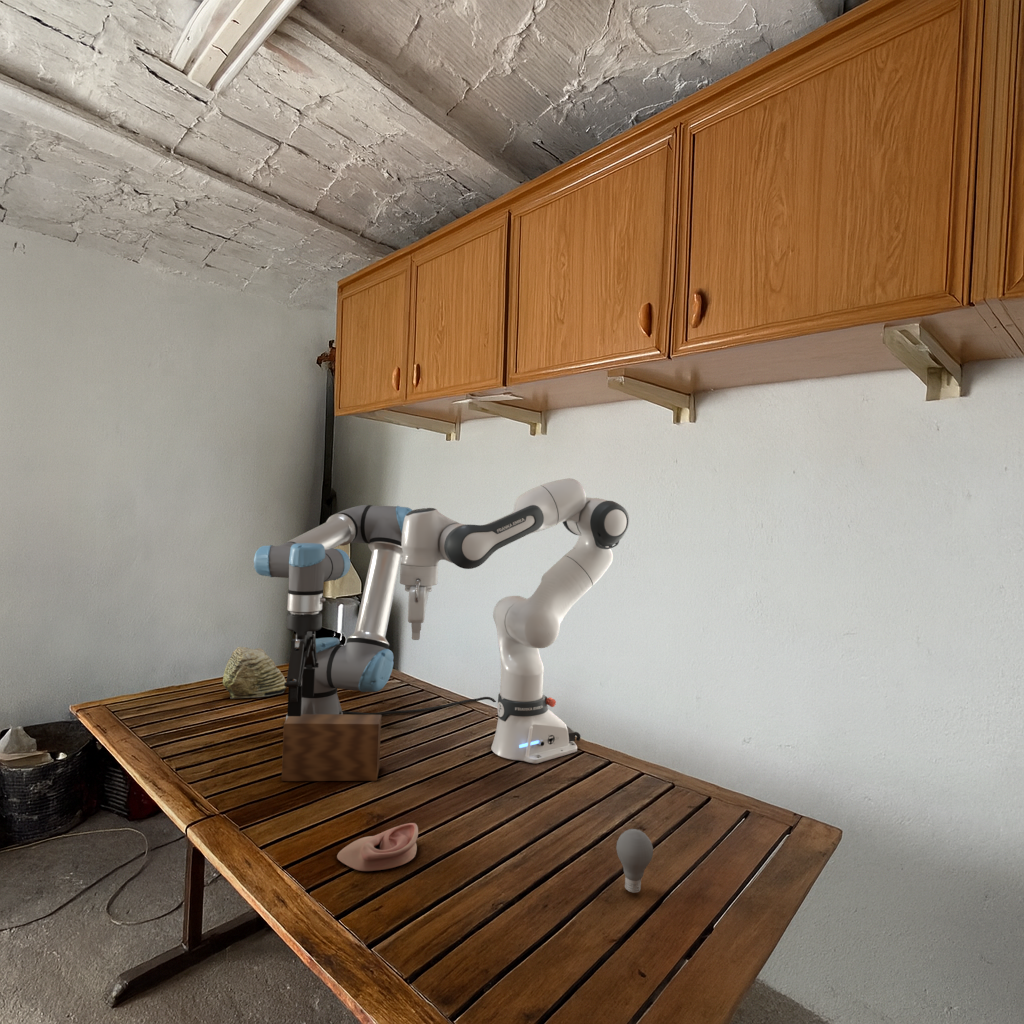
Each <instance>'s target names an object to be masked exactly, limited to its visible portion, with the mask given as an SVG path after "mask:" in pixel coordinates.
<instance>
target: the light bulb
mask: <svg viewBox="0 0 1024 1024" xmlns="http://www.w3.org/2000/svg"><path fill="white" fill-rule="evenodd" d="M615 849H616V854H617V857H618V859H619V861H620V863H621V865H622V867H623V873H624V874H623V875H624V876H625V878H624V888H625V890H627V891H628V892H630V893H634V894H635V893H639V892H640V891H641V889H642V887H641V886H642V879H643V877H644V875H645V871H646V868H647V867H648V866H649V864H650V863H651V861H652V859H653V855H654V847H653V843H652V841H651V838H649V836H648V835H647V834H646V833H645V832H643V831H642V830H641V829H636V828H629V829H627V830H625V831H623V832H622V833H621V834H620V835H619V837H618V839H617V841H616V847H615Z"/></svg>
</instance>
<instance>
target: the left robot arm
mask: <svg viewBox="0 0 1024 1024" xmlns="http://www.w3.org/2000/svg"><path fill="white" fill-rule="evenodd" d="M412 510H413V508H411V507H407V506H400V505H396V506H394V505H376V504H375V505H374V504H373V505H371V504H361V505H356V506H352V507H348V508H346V509H343V510H341V511H338V512H336V513H334V514H332V515H330V516H329V517H328V518H327V519H326V521H325V522H324V523H322V524H320V525H318V526H316V527H314V528H312V529H310V530H308V531H306V532H304V533H302V534H300V535H297V536H295V537H294V538H292V539H290V540H287V541H286V542H283V543H281V544H279V545H272V544H270V545H262V546H260V547H258V548H257V550H256V551H255V554H254V556H253V568H254V570H255V572H256V573H257V574H258V575H259V576H263V577H269V578H282V579H283V578H284V579H288V590H287V607H286V610H287V611H288V613H287V615H286V630H288V631H290V632H294V633H295V638H292V639H291V640H290V654H289V662H288V668H287V675H286V676H287V677H286V683H285V684H284V685H285V687H286V688H287V687H288V688H287V689H288V692H287V713H286V715H285V721H286V720H287V718H288V717H289V716H301V714H337V715H381V716H385V715H395V714H396V715H397V714H411V713H412V714H413V713H420V712H427V711H433V710H438V709H443V708H447V707H448V708H449V707H452V706H457V705H461V704H466V703H467V704H468V703H473V702H474V703H475V702H479V701H483V700H488V701H491V702H493V703H496V702H497V700H495V699H494V698H493V697H490V696H482V697H477V698H471V699H470V698H469V699H464V700H460V701H454V702H450V703H445V704H440V705H435V706H429V707H424V708H417V709H416V708H415V709H405V710H403V709H402V710H389V711H379V712H361V711H345V710H343V709H342V706H341V702H340V699H339V695H338V689H339V690H347V691H357V692H361V693H377V692H380V691H381V690H382V689H384V687H385V686H386V685H387V684H388V682H389V680H390V677H391V675H392V672H393V669H394V659H395V657H394V653H393V651H392V650H390V643H389V642H388V640H387V637H386V636H387V631H388V625H389V621H390V615H391V611H392V606H393V601H394V596H395V590H396V587H397V586H396V585H397V582H398V576H399V572H400V564H401V559H402V555H403V551H402V546H401V540H402V529H403V522H404V518H405V516H406V514H407V513H408V512H410V511H412ZM356 543H357V544H358V543H359V544H367V547H368V549H369V550H370V551H371V556H370V559H369V560H370V561H369V564H368V569H367V574H366V578H365V583H364V587H363V592H362V596H361V600H360V601H361V602H360V605H359V610H358V614H357V619H356V623H355V624H356V625H355V628H354V632H353V633H352V634H350V635H349V636H348V637H347V639H346V643H345V644H340V643H341V641H340V639H339V638H338V637H334V636H333V637H318V638H316V631H317V632H318V631H320V630H321V629H322V627H323V613H322V612H321V611H322V610H323V603H324V602H326V598H325V597H323V595H324V583H326V582H330V581H336V580H339V579H342V578H344V577H345V576H346V575H347V574H348V573H349V571H350V569H351V558H350V556H349V555H348V554H347V552H346V551H344V550H343V549H340V548H338V547H339V546H344V547H345V546H347V545H350V544H356Z"/></svg>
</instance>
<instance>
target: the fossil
mask: <svg viewBox="0 0 1024 1024" xmlns="http://www.w3.org/2000/svg"><path fill="white" fill-rule="evenodd" d="M222 676H223V677H222V685H223V687H224V688H225V690H226V691H228V693H229V698H230V699H250V698H264V697H271V696H275V695H281V694H284V693H285V691H286V689H287V687H285V685H284V684H285V683H286V682H287V679H286V678H285V676H284V674H283V673H282V672H281V669H279V668H278V667H277V665H276V663H275V662H274V660H273V659H272V658H271V657H270V656H269V655H268V654H267V653H266V652H265V650H264V649H263V648H260V647H258V648H251V647H247V646H246V647H245V646H238V647H237V648H236V649H235V650H233V651H232V653H231V656H230V657H229V659H228V660H227V663H226V666H225V668H224V671H223V675H222Z"/></svg>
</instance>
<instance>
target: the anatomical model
mask: <svg viewBox="0 0 1024 1024" xmlns="http://www.w3.org/2000/svg"><path fill="white" fill-rule="evenodd" d="M418 837H419V826H418V825H417V823H415V822H409V823H404V824H400V825H397V826H394V827H391V828H389V829H387V830H385V831H381V833H377V834H375V835H369V836H364V837H361V838H358V839H356V840H354V841H352V842H350V843H349V844H347V845H346V846H345V847H343V848H342V849H341V850H339V852H337V854H336V859H337V860H338V861H339V862H341V863H342V864H343V865H346V867H349V868H351V869H353V870H356V871H359V872H373V871H381V870H383V871H384V870H389V869H393V868H396V867H397V868H398V867H400V866H403V865H405V864H407V863H409V862H410V861H412V860H413V859H414V858H415V857H416V855H417V851H418V844H417V841H418Z"/></svg>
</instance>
